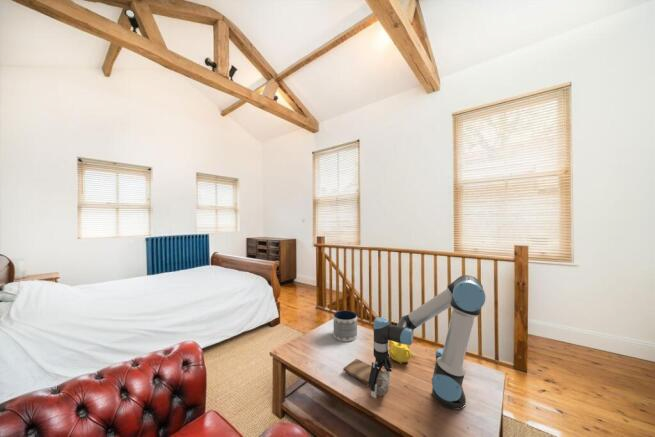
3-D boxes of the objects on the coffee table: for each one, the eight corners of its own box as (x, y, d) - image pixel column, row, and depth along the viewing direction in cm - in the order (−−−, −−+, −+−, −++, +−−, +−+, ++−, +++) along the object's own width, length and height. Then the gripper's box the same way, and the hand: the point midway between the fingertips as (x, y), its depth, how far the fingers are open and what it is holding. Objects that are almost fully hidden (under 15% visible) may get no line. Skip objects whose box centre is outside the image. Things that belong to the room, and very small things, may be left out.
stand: (382, 376, 137) (382, 371, 137) (369, 388, 127) (369, 382, 127) (356, 363, 149) (356, 358, 149) (343, 373, 139) (343, 368, 139)
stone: (369, 399, 119) (369, 379, 119) (374, 381, 132) (374, 363, 132) (387, 405, 115) (387, 384, 115) (390, 385, 129) (390, 367, 129)
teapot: (399, 348, 166) (399, 332, 166) (421, 361, 151) (421, 343, 151) (378, 357, 155) (378, 340, 155) (400, 372, 140) (400, 353, 140)
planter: (350, 344, 171) (350, 321, 171) (329, 337, 181) (329, 316, 181) (361, 334, 186) (361, 313, 186) (340, 328, 196) (340, 308, 196)
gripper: (386, 337, 136) (386, 374, 136) (361, 355, 118) (361, 398, 118) (398, 342, 131) (398, 381, 131) (374, 362, 113) (374, 407, 112)
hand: (380, 389), depth 124 cm, fingers closed on stone, 13 cm apart
